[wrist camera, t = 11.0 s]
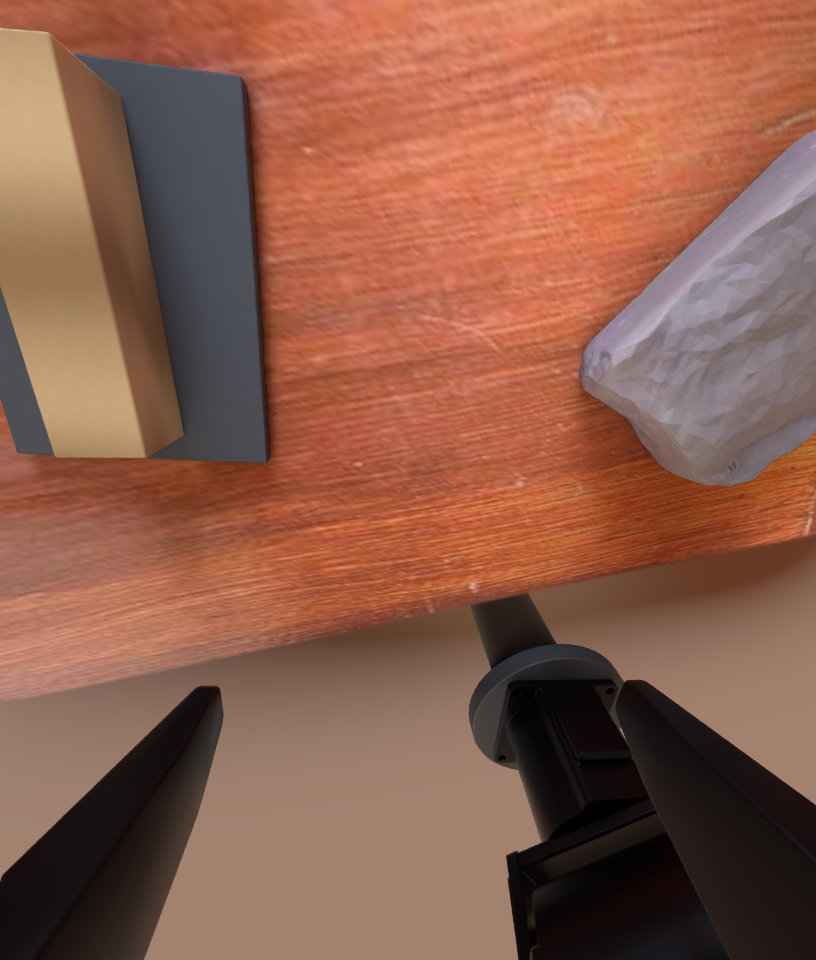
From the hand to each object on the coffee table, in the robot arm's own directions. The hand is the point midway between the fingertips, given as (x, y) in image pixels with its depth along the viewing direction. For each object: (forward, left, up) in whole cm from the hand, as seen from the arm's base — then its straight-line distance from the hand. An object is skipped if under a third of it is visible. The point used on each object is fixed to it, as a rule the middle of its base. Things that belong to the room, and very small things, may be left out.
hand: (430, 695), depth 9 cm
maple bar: (+8, +11, -10) cm, 17 cm away
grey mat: (+8, +11, -11) cm, 17 cm away
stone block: (+8, -14, -11) cm, 20 cm away
